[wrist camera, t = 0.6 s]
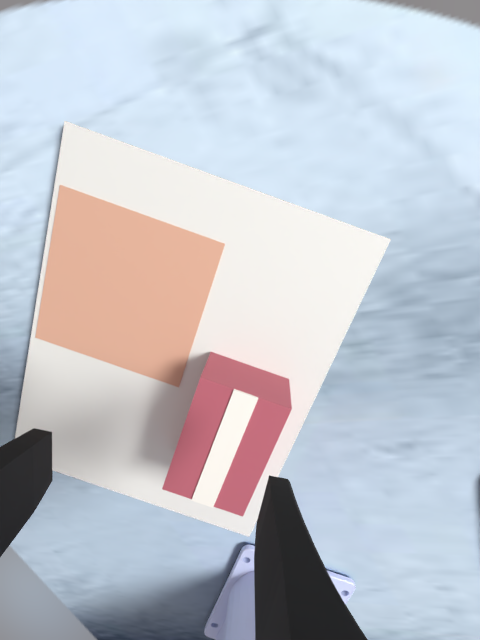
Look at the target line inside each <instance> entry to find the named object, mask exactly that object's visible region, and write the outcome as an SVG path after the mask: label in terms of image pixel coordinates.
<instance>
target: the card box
mask: <svg viewBox="0 0 480 640" xmlns="http://www.w3.org/2000/svg"><path fill="white" fill-rule="evenodd" d="M291 410H292V405H291V394H290V383H289V379H288V378H285V377H282V376H279V375H276V374H273V373H271V372H268V371H265V370H262V369H259V368H256V367H254V366H251V365H248V364H245V363H242V362H239V361H236V360H234V359H231V358H228V357H225V356H222V355H219V354H216V353H214V352H210V355H209V357H208V360H207V362H206V365H205V367H204V369H203V372H202V374H201V377H200V380H199V383H198V385H197V388H196V391H195V394H194V397H193V400H192V403H191V406H190V409H189V412H188V415H187V418H186V420H185V423H184V426H183V429H182V432H181V435H180V438H179V441H178V444H177V447H176V450H175V452H174V455H173V458H172V461H171V464H170V467H169V470H168V473H167V476H166V479H165V482H164V485H163V487H162V489H163V490H166V491H169V492H172V493H174V494H177V495H180V496H183V497H186V498H189V499H192V500H191V501H194V502H197V503H200V504H203V505H206V506H209V507H212V508H213V507H216V508H219V509H222V510H225V511H228V512H230V513H233V514H236V515H239V516H242V517H243V515H244V513H245V511H246V509H247V506H248V504H249V502H250V500H251V498H252V495H253V493H254V491H255V489H256V487H257V484H258V482H259V480H260V478H261V476H262V474H263V471H264V469H265V467H266V465H267V463H268V460H269V458H270V456H271V454H272V452H273V449H274V447H275V445H276V443H277V441H278V438H279V436H280V434H281V432H282V430H283V427H284V425H285V423H286V421H287V419H288V416H289V414H290V412H291Z"/></svg>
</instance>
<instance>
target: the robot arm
mask: <svg viewBox="0 0 480 640" xmlns="http://www.w3.org/2000/svg"><path fill="white" fill-rule="evenodd" d="M51 482H52V432H50V431H45V430H40V429H35V428H33V429H32V430H30V431H28V432H26V433H24V434H22V435H21V436H19V437H17V438H15V439H14V440H12V441H10V442H8V443H7V444H5V445H3V446H1V447H0V557H1V555H2V554H3V553H4V551H5V550H6V549H7V547H8V546H9V545H10V543H11V542H12V541H13V539H14V538H15V537H16V535H17V534H18V533H19V531H20V530H21V529H22V527H23V526H24V525H25V523H26V522H27V521H28V519H29V518H30V516H31V515H32V514H33V512H34V511H35V509H36V508H37V506H38V504H39V503H40V501H41V499H42V498H43V496H44V494H45V492H46V491H47V489H48V487H49V485H50V483H51ZM247 557H248V558H247ZM355 588H356V587H355V583H354V581H353V579H351V578H348V577H345V576H342V575H339V574H336V573H333V572H330V571H327V570H326V568H325V566H324V564H323V562H322V560H321V558H320V556H319V554H318V552H317V550H316V548H315V545H314V543H313V541H312V539H311V536H310V534H309V532H308V530H307V527H306V525H305V523H304V520H303V518H302V515H301V512H300V510H299V507H298V505H297V502H296V499H295V496H294V493H293V490H292V487H291V484H290V482H289V480H288V479H284V478H279V477H274V476H269V478H268V482H267V485H266V489H265V493H264V497H263V501H262V504H261V508H260V512H259V516H258V519H257V526H256V538H255V546H253V545H245V546H243V547H242V549H241V551H240V554H239V556H238V558H237V560H236V562H235V564H234V566H233V568H232V570H231V573H230V575H229V577H228V579H227V581H226V583H225V585H224V587H223V589H222V592H221V594H220V596H219V598H218V600H217V602H216V604H215V606H214V608H213V611H212V613H211V615H210V617H209V619H208V621H207V623H206V625H205V630H204V634H205V635H206V636H207V637H209V638H212V639H215V640H367V638H366V637H365V635H364V634H363V632H362V631H361V629H360V627H359V626H358V624H357V623H356V621H355V619H354V618H353V616H352V615H351V613H350V611H349V610H348V608H347V606H346V605H345V604H346V603H347V601H348V600H349V598H350V597H351V595H352V594H353V592H354V591H355Z"/></svg>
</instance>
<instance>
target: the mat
mask: <svg viewBox="0 0 480 640" xmlns="http://www.w3.org/2000/svg"><path fill="white" fill-rule="evenodd" d="M390 240H391V239H388V238H386V237H383V236H380V235H377V234H375V233H372V232H369V231H366V230H364V229H361V228H358V227H355V226H353V225H350V224H347V223H344V222H342V221H339V220H336V219H333V218H331V217H328V216H325V215H322V214H320V213H317V212H314V211H311V210H309V209H306V208H303V207H300V206H298V205H295V204H292V203H289V202H287V201H284V200H281V199H278V198H276V197H273V196H270V195H267V194H265V193H262V192H259V191H256V190H254V189H251V188H248V187H245V186H243V185H240V184H237V183H234V182H232V181H229V180H226V179H223V178H221V177H218V176H215V175H212V174H210V173H207V172H204V171H201V170H199V169H196V168H193V167H190V166H188V165H185V164H182V163H179V162H177V161H174V160H171V159H168V158H166V157H163V156H160V155H157V154H155V153H152V152H149V151H146V150H144V149H141V148H138V147H135V146H133V145H130V144H127V143H124V142H122V141H119V140H116V139H113V138H111V137H108V136H105V135H102V134H100V133H97V132H94V131H91V130H89V129H86V128H83V127H80V126H78V125H75V124H72V123H69V122H67V121H64V128H63V134H62V140H61V147H60V153H59V159H58V166H57V172H56V179H55V185H54V191H53V198H52V204H51V211H50V217H49V223H48V230H47V236H46V242H45V249H44V255H43V262H42V268H41V274H40V281H39V287H38V293H37V300H36V306H35V313H34V319H33V325H32V332H31V338H30V345H29V351H28V357H27V364H26V370H25V376H24V383H23V389H22V396H21V402H20V408H19V415H18V421H17V428H16V434H15V438H17V437H19V436H21V435H22V434H24V433H26V432H28V431H30V430H32V429H33V428H35V429H40V430H45V431H50V432H52V470H53V471H56V472H59V473H62V474H65V475H68V476H71V477H74V478H77V479H80V480H83V481H85V482H88V483H91V484H94V485H97V486H100V487H103V488H106V489H109V490H112V491H115V492H118V493H121V494H124V495H127V496H130V497H133V498H136V499H139V500H142V501H145V502H148V503H151V504H154V505H157V506H160V507H162V508H165V509H168V510H171V511H174V512H177V513H180V514H183V515H186V516H189V517H192V518H195V519H198V520H201V521H204V522H207V523H210V524H213V525H216V526H219V527H222V528H225V529H228V530H231V531H234V532H236V533H239V534H242V535H245V536H248V537H249V536H250V534H251V532H252V530H253V528H254V526H255V524H256V522H257V519H258V516H259V512H260V508H261V504H262V501H263V497H264V493H265V489H266V485H267V482H268V478H269V476H274V477H278V475H279V473H280V471H281V469H282V467H283V465H284V463H285V461H286V459H287V457H288V454H289V452H290V450H291V448H292V446H293V444H294V442H295V440H296V438H297V436H298V433H299V431H300V429H301V427H302V425H303V423H304V421H305V419H306V417H307V415H308V412H309V410H310V408H311V406H312V404H313V402H314V400H315V398H316V396H317V393H318V391H319V389H320V387H321V385H322V383H323V381H324V379H325V377H326V375H327V372H328V370H329V368H330V366H331V364H332V362H333V360H334V358H335V356H336V354H337V351H338V349H339V347H340V345H341V343H342V341H343V339H344V337H345V335H346V333H347V330H348V328H349V326H350V324H351V322H352V320H353V318H354V316H355V314H356V312H357V309H358V307H359V305H360V303H361V301H362V299H363V297H364V295H365V293H366V291H367V288H368V286H369V284H370V282H371V280H372V278H373V276H374V274H375V272H376V269H377V267H378V265H379V263H380V261H381V259H382V257H383V255H384V253H385V251H386V248H387V246H388V244H389V242H390ZM210 352H214V353H216V354H219V355H222V356H225V357H228V358H231V359H234V360H236V361H239V362H242V363H245V364H248V365H251V366H254V367H256V368H259V369H262V370H265V371H268V372H271V373H273V374H276V375H279V376H282V377H285V378H288V379H289V383H290V394H291V405H292V410H291V412H290V414H289V416H288V419H287V421H286V423H285V425H284V427H283V430H282V432H281V434H280V436H279V438H278V441H277V443H276V445H275V447H274V449H273V452H272V454H271V456H270V458H269V460H268V463H267V465H266V467H265V469H264V471H263V474H262V476H261V478H260V480H259V482H258V484H257V487H256V489H255V491H254V493H253V495H252V498H251V500H250V502H249V504H248V506H247V509H246V511H245V513H244V515H243V517H242V516H239V515H236V514H233V513H230V512H228V511H225V510H222V509H219V508H216V507H213V508H212V507H209V506H206V505H203V504H200V503H197V502H194V501H191V500H192V499H189V498H186V497H183V496H180V495H177V494H174V493H172V492H169V491H166V490H163V489H162V487H163V485H164V482H165V479H166V476H167V473H168V470H169V467H170V464H171V461H172V458H173V455H174V452H175V450H176V447H177V444H178V441H179V438H180V435H181V432H182V429H183V426H184V423H185V420H186V418H187V415H188V412H189V409H190V406H191V403H192V400H193V397H194V394H195V391H196V388H197V385H198V383H199V380H200V377H201V374H202V372H203V369H204V367H205V365H206V362H207V360H208V357H209V355H210Z"/></svg>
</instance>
